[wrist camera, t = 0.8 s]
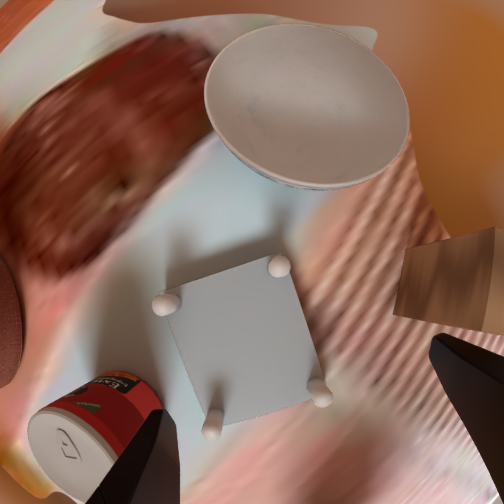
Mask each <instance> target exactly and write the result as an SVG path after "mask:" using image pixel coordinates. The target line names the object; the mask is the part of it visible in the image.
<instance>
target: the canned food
mask: <svg viewBox="0 0 504 504" xmlns="http://www.w3.org/2000/svg"><path fill="white" fill-rule="evenodd" d="M160 408H163V406H162V404H161V401H160V399H159V397H158V396H157V394H156V393H155V391H154V390H153V389H152V388H151V387H150V386H149V385H148V384H147V383H146V382H145V381H143V380H142V379H140V378H139V377H137V376H135V375H133V374H130V373H126V372H115V371H113V372H107V373H105V374H103V375H101V376H99V377H97V378H95V379H94V380H92V381H90V382H88V383H86V384H85V385H83V386H81V387H79V388H78V389H76V390H74V391H72V392H70V393H69V394H67V395H65V396H63V397H61V398H59V399H58V400H56V401H54V402H52V403H50V404H49V405H47V406H46V407H44V408H42V409H40V410H39V411H38V412H37V413H35V414H34V415H33V416H32V417H31V419H30V421H29V424H28V439H29V444H30V447H31V450H32V452H33V455H34V456H35V458H36V460H37V462H38V464H39V465H40V467H41V468H42V469H43V471H44V472H45V473H46V475H47V476H48V477H49V478H50V479H51V480H52V481H53V482H54V483H55V484H56V485H57V486H58V487H59V488H60V489H62V490H63V491H64V492H66V493H67V494H68V495H70V496H72V497H73V498H75V499H77V500H79V501H81V502H84V503H86V502H87V500H88V499H89V498H90V496H91V495H92V494H93V492H94V491H95V490H96V488H97V487H98V486H99V484H100V483H101V481H102V480H103V479H104V477H105V476H106V474H107V473H108V471H109V470H110V469H111V467H112V466H113V464H114V463H115V462H116V460H117V459H118V457H119V456H120V455H121V453H122V452H123V450H124V449H125V448H126V446H127V445H128V443H129V442H130V440H131V439H132V438H133V436H134V435H135V433H136V432H137V431H138V429H139V428H140V426H141V425H142V423H143V422H144V421H145V419H146V418H147V416H148V415H149V413H150V412H151V411H152V410H153V409H160Z"/></svg>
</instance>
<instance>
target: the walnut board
mask: <svg viewBox="0 0 504 504" xmlns="http://www.w3.org/2000/svg"><path fill="white" fill-rule="evenodd" d="M393 315H397V316H402V317H407V318H412V319H416V320H421V321H426V322H431V323H436V324H441V325H447V326H452V327H457V328H463V329H468V330H474V331H479V332H485V333H491V334H496V335H502V336H504V231H503V230H501V229H499V228H497V227H492V228H488V229H484V230H480V231H477V232H473V233H469V234H465V235H461V236H458V237H453V238H450V239H446V240H442V241H438V242H434V243H430V244H426V245H422V246H418V247H413V248H409V249H406V250H405V257H404V262H403V268H402V274H401V279H400V284H399V289H398V293H397V298H396V303H395V307H394V311H393Z"/></svg>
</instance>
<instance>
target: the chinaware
mask: <svg viewBox="0 0 504 504" xmlns="http://www.w3.org/2000/svg"><path fill="white" fill-rule="evenodd" d="M204 100H205V106H206V110H207V114H208V117H209V119H210V121H211V124H212V126H213V128H214V129H215V131H216V133H217V134H218V136H219V137H220V139H221V140H222V141H223V143H224V144H225V145H226V147H227V148H228V149H229V150H230V151H231V152H232V153H233V154H234V155H235V156H236V157H237V158H238V159H239V160H240V161H241V162H242V163H244V164H245V165H246V166H247V167H249V168H250V169H252V170H253V171H255V172H256V173H258V174H260V175H261V176H263V177H265V178H267V179H269V180H272V181H274V182H276V183H279V184H282V185H285V186H289V187H293V188H298V189H304V190H334V189H340V188H345V187H349V186H353V185H356V184H359V183H362V182H364V181H367V180H369V179H371V178H373V177H375V176H377V175H378V174H380V173H382V172H383V171H384V170H386V169H387V168H388V167H389V166H390V165H391V164H392V163H393V162H394V161H395V160H396V159H397V158H398V156H399V155H400V153H401V152H402V150H403V148H404V146H405V144H406V141H407V138H408V134H409V128H410V114H409V107H408V103H407V99H406V96H405V93H404V91H403V89H402V87H401V85H400V83H399V81H398V80H397V78H396V76H395V75H394V74H393V72H392V71H391V70H390V68H389V67H388V66H387V65H386V64H385V63H384V62H383V61H382V60H381V59H380V58H379V57H378V56H377V55H376V54H375V53H374V52H372V51H371V50H370V49H368V48H367V47H366V46H364V45H363V44H361V43H359V42H358V41H356V40H354V39H352V38H350V37H348V36H346V35H344V34H342V33H339V32H336V31H334V30H330V29H327V28H323V27H319V26H314V25H307V24H278V25H271V26H266V27H262V28H259V29H256V30H253V31H250V32H248V33H246V34H244V35H242V36H240V37H238V38H237V39H235V40H234V41H232V42H231V43H230V44H228V45H227V46H226V47H225V48H224V49H223V50H222V51H221V52H220V53H219V54H218V56H217V57H216V58H215V60H214V61H213V63H212V65H211V66H210V69H209V71H208V74H207V77H206V81H205V87H204Z"/></svg>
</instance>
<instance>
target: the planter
mask: <svg viewBox="0 0 504 504" xmlns="http://www.w3.org/2000/svg"><path fill="white" fill-rule="evenodd" d="M21 352H22V322H21V313H20V307H19V301H18V297H17V293H16V289H15V286H14V283H13V280H12V277H11V274H10V272H9V270H8V268H7V266H6V264H5V262H4V260H3V259H2V257H1V256H0V388H2V387H4V386H6V385H7V384H9V383H10V382H11V381H12V379H13V378H14V376H15V374H16V372H17V370H18V367H19V363H20V359H21Z"/></svg>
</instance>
